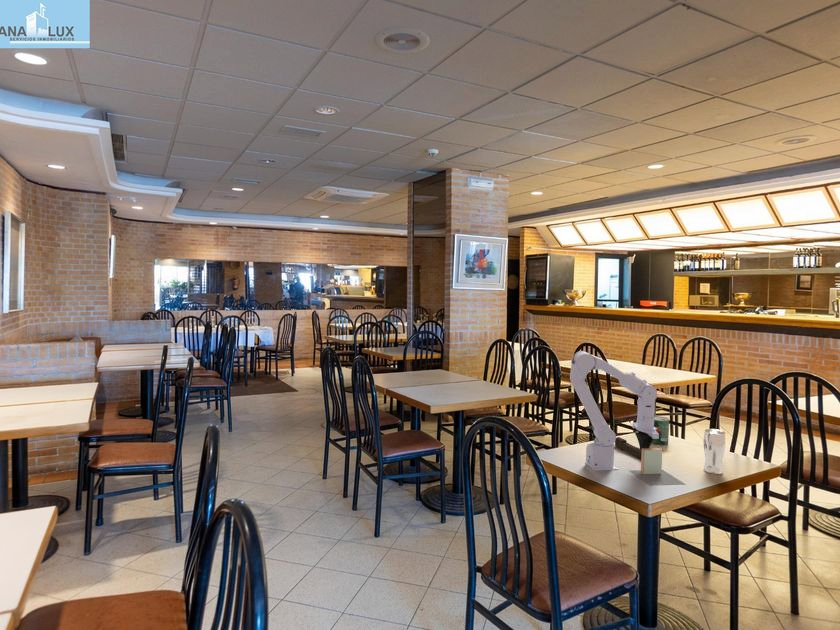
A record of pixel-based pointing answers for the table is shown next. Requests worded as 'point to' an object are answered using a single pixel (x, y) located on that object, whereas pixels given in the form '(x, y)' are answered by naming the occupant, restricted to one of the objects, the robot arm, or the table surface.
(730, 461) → the table surface
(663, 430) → the canned tomato
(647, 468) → the tile
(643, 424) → the robot arm
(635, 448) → the hand tool
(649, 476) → the mat
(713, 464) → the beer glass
